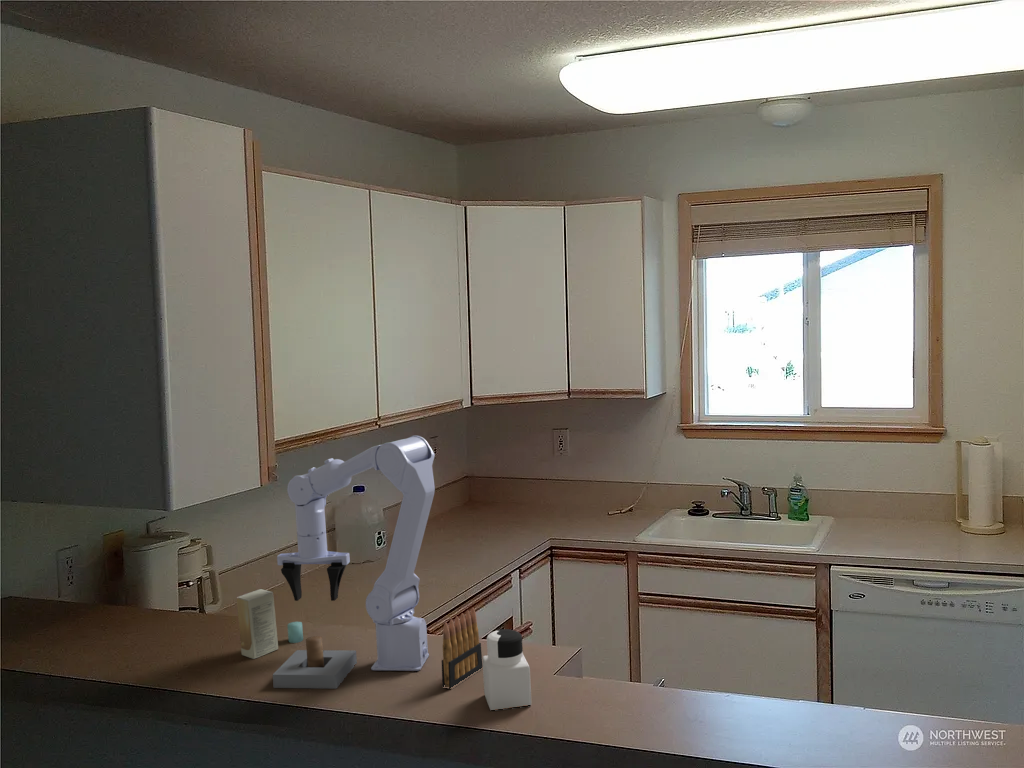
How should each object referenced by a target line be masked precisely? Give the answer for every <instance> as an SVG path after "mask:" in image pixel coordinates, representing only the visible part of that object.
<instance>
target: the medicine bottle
mask: <svg viewBox="0 0 1024 768" xmlns="http://www.w3.org/2000/svg"><path fill="white" fill-rule="evenodd" d="M486 649H487V650H486V651H487V655H482V665H483V669H482V673H483V674H482V675H483V677H482V678H483V693H484V696H485V697H484V698H485V700H486V702H487V705H488V707H489V710H490V711H491V710H495V709H503V708H509V707H517V706H523V705H531V706H532V689H531V686H532V685H531V668H530V665H529V663H528V660H527V659H526V657H525V655H524V650H523V636H522V634H521V632H519V631H517V630H514V629H511V628H509V629H507V628H505V629H504V628H502V629H497V630H495V631H492V632H489V634H488V635H487V637H486ZM503 710H504V709H503ZM495 711H496V710H495Z"/></svg>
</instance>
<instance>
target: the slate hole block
mask: <svg viewBox="0 0 1024 768" xmlns="http://www.w3.org/2000/svg"><path fill="white" fill-rule="evenodd" d="M323 658H324V668H321V667H308V663H307V650H306V649H296V650H295V651H294V652H293V654H291V655H290V656H289V657H288V659H286V661H284V662H283V663H282V665H281V666H279V667H278V668H277V670H276V671H274V672H273V674H272V684H273V687H272V688H273V689H330V690H331V689H333V690H334V689H338V687H339V686H340V685H341V684H342V683H343V681H344V680H345V679H346V677H347V676H348V675H349V674H348V673H351V671H352V670H353V668H354V667H355V666H356V665H357V663H358V662H357V661H358V660H357V659H358V658H357V650H356V649H355V650H343V649H342V650H339V649H337V650H335V649H334V650H333V649H331V650H329V649H328V650H325V649H323ZM355 664H356V665H355ZM354 665H355V666H354ZM351 669H352V670H351ZM347 674H348V675H347ZM344 678H345V679H344ZM340 683H341V684H340Z"/></svg>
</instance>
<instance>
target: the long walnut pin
mask: <svg viewBox="0 0 1024 768" xmlns="http://www.w3.org/2000/svg"><path fill="white" fill-rule="evenodd" d="M305 647H306V648H305V650H307V663H308V667H321V668H324V658H323V650H324V646H323V637H322V636H319V635H314V636H309V637H306V639H305Z"/></svg>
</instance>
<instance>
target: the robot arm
mask: <svg viewBox="0 0 1024 768" xmlns="http://www.w3.org/2000/svg"><path fill="white" fill-rule="evenodd" d="M435 455H436V453H435V452H434V451H433V449H432V447H431V446H430V444H429V442H428V441H427V440H426V439H425V438H424V437H422V436H421V435H411V436H409V437H407V438H403V439H398V440H395V441H391V442H385V443H382V444H378V445H374V446H371V447H369V448H368V449H365V450H363V451H362V452H360V453H357V454H356V455H355V456H353V457H350V458H348V459H347V460H345V461H344V460H342V459H341V458H335V459H334V458H333V457H331V458H328V459H326V460H324V462H323V463H324V464H322V465H321V466H319V467H314V466H313V467H312V468H309V469H308V470H307V472H306V473H304V474H302V475H301V474H300V475H294V476H293V478H291V479H290V480H289V481H288V483H287V489H286V490H287V491H286V492H287V495H288V497H289V500H290V501H291V503H293V504H294V511H295V524H296V536H297V537H296V539H297V541H296V542H297V552H286V553H285V552H284V553H279V554H278V555H277V556H276V562H277V566H282V568H281V569H280V571H281V574H282V575H283V577H284V578H285V580H286V581H287V583H288V585H289V587H290V590H291V592H292V596H293V599H294V601H295V602H299V600H301V599H302V584H301V582H302V581H301V579H302V578H301V576H302V575H301V573H302V565H329V566H328V567H327V568H326V572H327V575H328V580H329V581H328V582H329V587H330V589H329V590H330V591H329V592H330V593H329V594H330V600H331V602H332V601H333V602H334V601H337V599H338V597H339V589H340V585H341V582H342V581H341V580H342V577H343V575H344V572H345V570H346V567H347V565H348V564H349V563H350V562H351V559H350V552H339V551H330V550H328V539H327V538H328V537H327V529H326V528H327V527H326V525H327V524H326V513H325V512H326V511H325V510H326V509H325V507H326V505H327V497H328V496H330V495H331V494H333V493H335V492H338V491H340V490H342V489H344V488H347V487H348V486H349V485H350V484H351V482H352V480H353V479H352V478H353V477H354V476H356V475H358V474H362V473H364V472H366V471H368V470H370V469H374V470H375V471H380V473H382V475H384V476H385V478H386V479H387V480H388V481H390V483H391V484H392V485H393V486H394V487H395V489H396V490H398V491H399V492H400V493H402V495H403V496H402V500H401V503H400V508H399V511H398V512H399V513H398V517H397V519H396V524H395V528H394V532H393V536H392V541H391V545H390V548H389V551H388V556H387V560H386V565H385V569H384V570H383V572H382V573H381V574H380V575H379V577H377V579H376V581H375V582H374V584H373V587H372V590H371V591H370V592H369V593H368V594H367V596H366V599H365V609H366V612H367V615H368V616H369V618H370V619H372V621H373V622H372V623H374V624H375V636H376V637H375V638H376V639H375V640H376V650H377V651H376V652H377V653H376V654H377V655H376V656H377V659H376V661H375V662H374V663H373V665H372V666H371V668H370V669H371V671H404V672H405V671H407V672H408V671H412V672H413V671H415V672H418V671H420V670H421V669H422V667H423V666H424V665H425V662H426V661H427V660H428V658H429V656H430V654H429V649H428V648H429V647H428V633H427V631H428V630H427V622H426V620H425V618H422V617H417V616H414V614H415V608H416V607H417V605H418V604H419V602H420V590H419V585H420V580H421V579H420V577H418V575H417V574H416V573H415V569H416V566H417V562H418V558H419V554H420V550H421V547H422V542H423V539H424V535H425V531H426V527H427V523H428V520H429V516H430V511H431V508H432V505H433V504H432V503H433V500H434V496H435V492H436V490H435V489H436V487H435V480H434V479H435V477H434V469H433V464H434V459H435Z"/></svg>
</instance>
